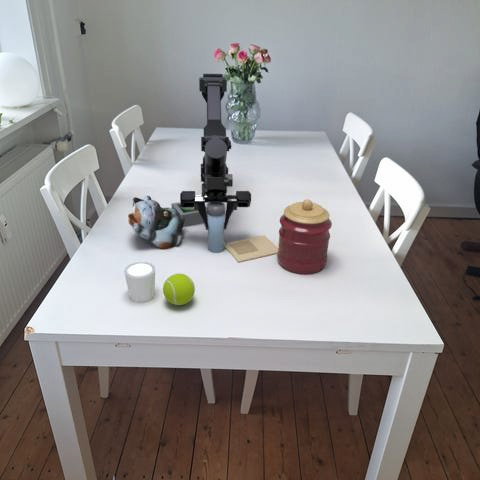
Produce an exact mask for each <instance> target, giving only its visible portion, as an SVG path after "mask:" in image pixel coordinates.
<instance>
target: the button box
mask: <svg viewBox="0 0 480 480" xmlns="http://www.w3.org/2000/svg"><path fill="white" fill-rule="evenodd" d="M170 206H171V208H173V209H175V210H176V211H177V212H178V213H179V214H180V216H183V217H184V218H185V222H184V224H183V228H186V227H193V226H198V225H204V222H203V219H202V217H201V215H200V213H199V211H198V210H197V211H192V212H186V213H184V212H183V211H182V210H181V202H180V201H178V202H172V203H171V205H170ZM205 207H206V214H207V221H208V213H207V205H205Z"/></svg>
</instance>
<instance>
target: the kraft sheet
mask: <svg viewBox="0 0 480 480" xmlns="http://www.w3.org/2000/svg"><path fill="white" fill-rule="evenodd" d="M278 247H279V246H277V245H276V244H275V243H274V242H272V241H271V239H269V238H268V237H267V236H266V235H265V234H264V235H260V236H254V237H251V238H249V237H248V238H245V239H240V240H235V241H230V242H226V243H225V242H224V249H226V251H228V253H229V254H230V256H232V257H233V258H234V259H235V261H236V262H237V263H239V264H240V263H242V262H247V261H251V260H252V261H253V260H256V259H261V258H265V257H269V256H273V255H274V256H275V255H277V251H278Z"/></svg>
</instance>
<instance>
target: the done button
mask: <svg viewBox="0 0 480 480" xmlns="http://www.w3.org/2000/svg"><path fill="white" fill-rule="evenodd" d="M181 210H182V211H183V212H184V213H186V212H192V211H197V210H194V207H193V208H183V207H181Z"/></svg>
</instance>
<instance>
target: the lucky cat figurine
mask: <svg viewBox="0 0 480 480" xmlns="http://www.w3.org/2000/svg"><path fill="white" fill-rule="evenodd" d="M132 201H133V202H132V207H131V208H132V209H131V210H130V212H129V214H128V215H127V216H128V224H129V225H130V227H131V228H132V229H131V230H132V232H134V233H135V234H136V235H137V236H139V237H140V238H142V239H144V240H146V241H147V242H150V243H151V244H154V246H155V247H158V248H159V249H162V250H165V249H170V248H174V247H175V246H177V245H179V243H180V242H181V240H182V236H183V235H182V231H183V228H184V227H183V224H184V222H185V218H184V217H183V216H180V214H179V213H178V212H177V211H176V210H175V209H173V208H172V207H161V204H160V203H159V202H158V201H157V200H154V199H152V198H151V196H150V195H145V196H144V197H143V199H142V198H140V197H135V196H134V197H133V198H132Z"/></svg>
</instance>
